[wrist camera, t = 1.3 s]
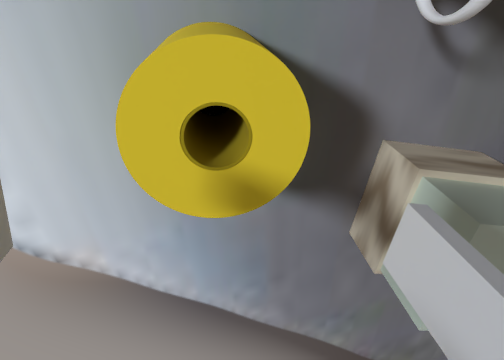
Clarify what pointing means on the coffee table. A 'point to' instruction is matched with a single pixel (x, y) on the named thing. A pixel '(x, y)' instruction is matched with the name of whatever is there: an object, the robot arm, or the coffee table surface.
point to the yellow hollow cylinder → (212, 123)
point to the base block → (410, 188)
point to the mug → (469, 10)
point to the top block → (462, 221)
